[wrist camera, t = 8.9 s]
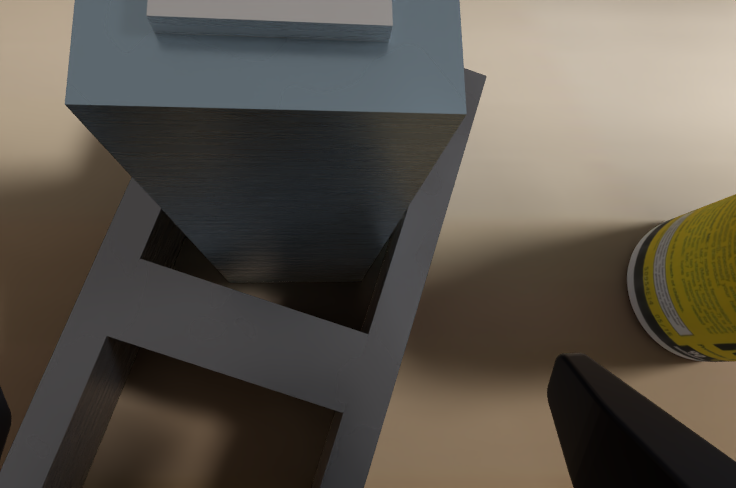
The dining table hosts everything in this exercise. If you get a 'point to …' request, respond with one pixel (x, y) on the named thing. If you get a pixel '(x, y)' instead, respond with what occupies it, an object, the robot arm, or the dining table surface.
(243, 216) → the light blue tall block
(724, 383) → the dining table surface
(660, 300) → the supplement bottle
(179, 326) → the grey slotted rack
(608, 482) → the robot arm
